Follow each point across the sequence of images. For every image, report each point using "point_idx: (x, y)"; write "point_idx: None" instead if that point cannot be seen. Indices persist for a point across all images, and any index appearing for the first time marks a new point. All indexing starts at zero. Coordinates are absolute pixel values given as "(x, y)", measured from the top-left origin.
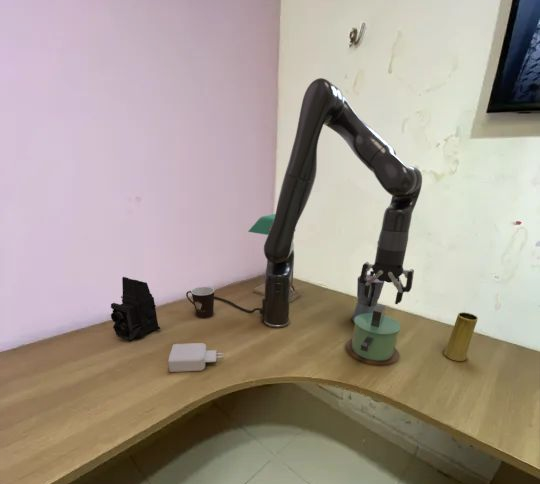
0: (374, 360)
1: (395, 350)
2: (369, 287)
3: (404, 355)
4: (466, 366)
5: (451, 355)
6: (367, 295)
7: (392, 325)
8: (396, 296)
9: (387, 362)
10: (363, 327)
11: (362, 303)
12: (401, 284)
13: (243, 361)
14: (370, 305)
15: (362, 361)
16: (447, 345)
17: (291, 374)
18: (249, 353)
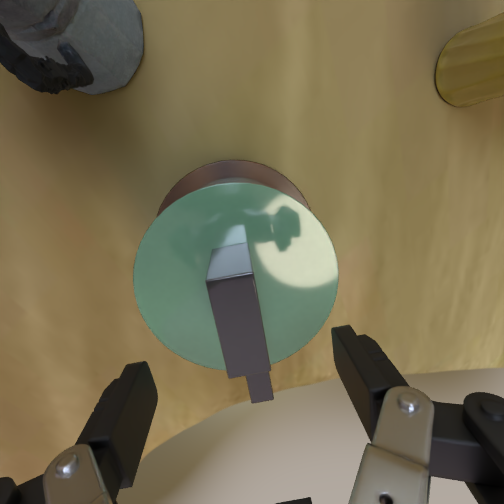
0: None
1: (296, 195)
2: (132, 481)
3: (324, 192)
4: (500, 115)
5: (465, 101)
6: (148, 415)
7: (300, 264)
8: (357, 412)
9: None
10: (216, 360)
11: (18, 38)
12: (423, 461)
13: None
14: (90, 81)
15: None
16: (463, 68)
17: (149, 449)
18: (17, 460)
